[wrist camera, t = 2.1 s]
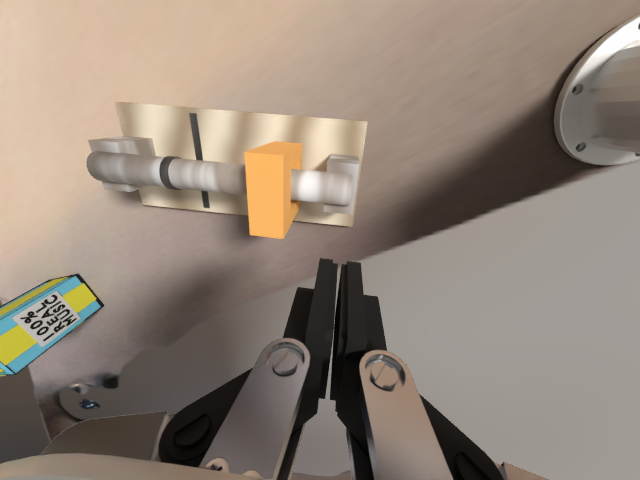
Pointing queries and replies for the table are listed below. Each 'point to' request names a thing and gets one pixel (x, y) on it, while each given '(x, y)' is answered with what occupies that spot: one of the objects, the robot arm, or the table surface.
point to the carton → (42, 320)
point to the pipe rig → (228, 159)
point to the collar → (271, 187)
